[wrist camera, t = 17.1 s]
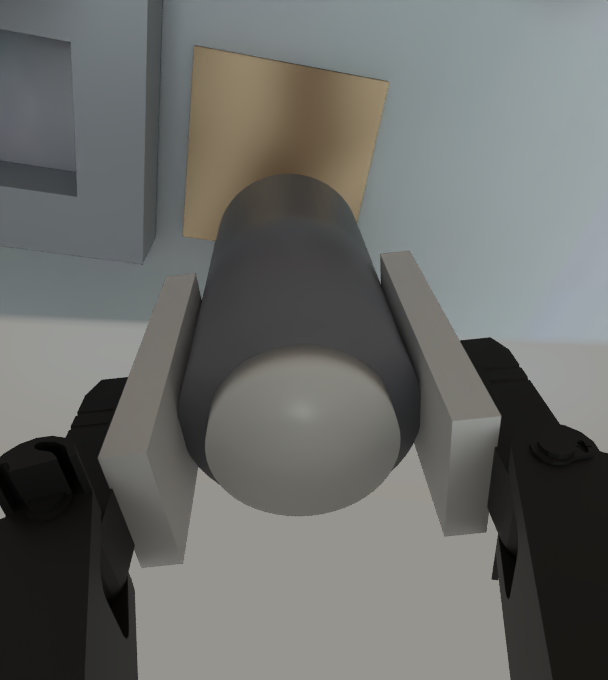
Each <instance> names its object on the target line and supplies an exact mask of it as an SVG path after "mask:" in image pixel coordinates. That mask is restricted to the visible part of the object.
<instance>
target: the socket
mask: <svg viewBox="0 0 608 680" xmlns="http://www.w3.org/2000/svg"><path fill="white" fill-rule="evenodd" d="M162 6H163V0H0V29H2V30H7V31H13V32H18V33H24V34H29V35H35V36H40V37H46V38H51V39H57V40H62V41H68V42H70V44H71V66H72V88H73V110H74V132H75V155H76V172H70V171H64V170H57V169H50V168H44V167H37V166H31V165H24V164H17V163H11V162H4V161H0V246H3V247H11V248H19V249H26V250H34V251H42V252H49V253H57V254H65V255H72V256H80V257H88V258H95V259H103V260H111V261H118V262H126V263H133V264H141V265H143V263H144V261H145V258H146V256H147V254H148V252H149V250H150V248H151V246H152V244H153V242H154V239H155V230H156V198H157V166H158V134H159V102H160V70H161V38H162Z"/></svg>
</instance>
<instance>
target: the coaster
mask: <svg viewBox="0 0 608 680" xmlns="http://www.w3.org/2000/svg"><path fill="white" fill-rule="evenodd" d="M388 86H389V82H388V81H384V80H379V79H373V78H368V77H363V76H357V75H352V74H346V73H341V72H336V71H330V70H325V69H320V68H314V67H309V66H304V65H298V64H293V63H287V62H282V61H277V60H271V59H266V58H261V57H255V56H250V55H245V54H239V53H234V52H228V51H223V50H218V49H212V48H207V47H202V46H196V45H195V46H194V56H193V73H192V90H191V107H190V124H189V141H188V158H187V174H186V191H185V208H184V225H183V237H190V238H198V239H205V240H212V241H216V238H217V233H218V229H219V225H220V222H221V219H222V216H223V214H224V212H225V210H226V208H227V207H228V205H229V204H230V202H231V201H232V200H233V199H234V197H235V196H236V195H237V194H238V193H239V192H241V191H242V190H243V189H244V188H245V187H247V186H249V185H250V184H252V183H253V182H256V181H258V180H260V179H262V178H265V177H268V176H272V175H278V174H299V175H304V176H309V177H312V178H315V179H317V180H320V181H321V182H323V183H325V184H327V185H329V186H330V187H331V188H333V189H334V190H335V191H336V192H337V193H339V194H340V195H341V196H342V197H343V199H344V200H345V201H346V203H347V204H348V205H349V207H350V209H351V211H352V212H353V215H354V217H355V220H356V222H357V221H358V216H359V212H360V207H361V203H362V199H363V194H364V190H365V186H366V181H367V177H368V173H369V168H370V164H371V160H372V155H373V151H374V147H375V142H376V138H377V134H378V129H379V125H380V121H381V116H382V112H383V108H384V103H385V99H386V95H387V90H388Z"/></svg>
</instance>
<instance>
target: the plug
mask: <svg viewBox="0 0 608 680" xmlns="http://www.w3.org/2000/svg"><path fill="white" fill-rule="evenodd" d="M420 409H421V390H420V385H419V382H418V380H417V377H416V374H415V372H414V369H413V367H412V364H411V361H410V359H409V356H408V354H407V351H406V349H405V346H404V343H403V341H402V338H401V336H400V333H399V331H398V328H397V325H396V323H395V320H394V318H393V315H392V313H391V310H390V307H389V305H388V302H387V300H386V297H385V294H384V292H383V289H382V287H381V284H380V282H379V279H378V276H377V274H376V271H375V269H374V266H373V264H372V261H371V258H370V256H369V253H368V251H367V248H366V246H365V243H364V240H363V238H362V235H361V233H360V230H359V227H358V225H357V222H356V220H355V217H354V215H353V212H352V211H351V209H350V207H349V205H348V204H347V203H346V201H345V200H344V199H343V197H342V196H341V195H340V194H339V193H337V192H336V191H335V190H334V189H333V188H331V187H330V186H329V185H327V184H325V183H323V182H321V181H320V180H317V179H315V178H312V177H309V176H304V175H299V174H278V175H272V176H268V177H265V178H262V179H260V180H258V181H256V182H253V183H252V184H250V185H249V186H247V187H245V188H244V189H243V190H242V191H241V192H239V193H238V194H237V195H236V196H235V197H234V199H233V200H232V201H231V202H230V204H229V205H228V207H227V208H226V210H225V212H224V214H223V216H222V219H221V222H220V225H219V229H218V233H217V238H216V242H215V246H214V251H213V255H212V259H211V264H210V268H209V272H208V277H207V281H206V285H205V290H204V294H203V298H202V303H201V307H200V311H199V316H198V320H197V324H196V328H195V333H194V337H193V341H192V346H191V350H190V354H189V359H188V363H187V367H186V372H185V376H184V380H183V385H182V389H181V393H180V399H179V405H178V419H179V423H180V426H181V430H182V433H183V437H184V441H185V444H186V448H187V451H188V452H189V454H190V456H191V457H192V459H193V460H194V461H195V463H196V464H197V465H198V467H199V468H201V469H202V471H203V472H205V473H206V474H207V475H208V476H209V477H210V478H211V479H213V480H214V481H216V482H217V483H218V484H220V485H221V486H222V487H223V488H224V489H225V490H226V491H227V492H228V493H229V494H230V495H232V496H233V497H234V498H236V499H237V500H239V501H241V502H242V503H244V504H246V505H248V506H251V507H253V508H255V509H258V510H261V511H264V512H268V513H273V514H277V515H286V516H312V515H318V514H324V513H328V512H333V511H336V510H339V509H342V508H345V507H347V506H349V505H352V504H354V503H356V502H358V501H359V500H361V499H363V498H364V497H366V496H367V495H369V494H370V493H371V492H373V491H374V490H375V489H376V488H377V487H378V486H379V485H381V484H382V482H383V481H384V480H385V479H386V478H387V476H388V475H389V473H390V472H391V471H392V470H393V469H394V468H395V467H396V466H397V465H398V464H399V463H400V462H401V461H402V459H403V458H404V457H405V456H406V454H407V453H408V451H409V450H410V448H411V447H412V445H413V443H414V441H415V439H416V436H417V434H418V431H419V428H420Z"/></svg>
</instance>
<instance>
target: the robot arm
mask: <svg viewBox="0 0 608 680" xmlns="http://www.w3.org/2000/svg"><path fill="white" fill-rule="evenodd" d="M380 262H381V287H382V289H383V292H384V294H385V297H386V300H387V302H388V305H389V307H390V310H391V313H392V315H393V318H394V320H395V323H396V325H397V328H398V331H399V333H400V336H401V338H402V341H403V343H404V346H405V349H406V351H407V354H408V356H409V359H410V361H411V364H412V367H413V369H414V372H415V374H416V377H417V380H418V382H419V385H420V390H421V409H420V428H419V431H418V434H417V436H416V439H415V441H414V444H415V447H416V450H417V453H418V456H419V459H420V462H421V465H422V469H423V472H424V475H425V478H426V481H427V484H428V487H429V490H430V493H431V496H432V499H433V502H434V506H435V509H436V512H437V515H438V518H439V521H440V524H441V527H442V530H443V533H444V536H454V535H464V534H473V533H484V532H486V530H487V523H488V515H489V513H490V515H491V517H492V520H493V522H494V524H495V527H496V529H497V531H498V539H497V545H496V553H495V560H494V566H493V573H492V579H493V580H498V578H499V585H500V593H501V602H502V610H503V619H504V626H505V635H506V644H507V652H508V661H509V669H510V677H511V680H608V453H603V452H601V451H599V449H598V448H597V446H596V445H595V443H594V442H593V441H592V440H591V439H589V438H588V437H587V436H585V435H584V434H583V433H581V432H579V431H577V430H574V429H572V428H570V427H567V426H565V425H560V424H559V422H558V421H557V419H556V418H555V417H554V415H553V413H552V412H551V411H550V409H549V408H548V406H547V405H546V403H545V402H544V400H543V399H542V397H541V396H540V394H539V393H538V391H537V390H536V389H535V387H534V386H533V384H532V383H531V381H530V380H528V377H527V375H526V374H525V372H524V371H523V370H522V368H520V367H519V364H518V362H517V361H516V359H515V358H514V356H513V355H512V354H511V352H510V350H509V349H507V348H506V347H504V346H503V345H501V344H500V343H498V342H497V341H495V340H494V339H492V338H480V339H471V340H461V341H459V339H458V337H457V335H456V333H455V332H454V330H453V328H452V326H451V324H450V323H449V321H448V319H447V317H446V315H445V314H444V312H443V310H442V308H441V306H440V304H439V303H438V301H437V299H436V297H435V295H434V294H433V292H432V290H431V288H430V286H429V285H428V283H427V281H426V279H425V277H424V276H423V274H422V272H421V270H420V268H419V267H418V265H417V263H416V261H415V259H414V258H413V256H412V254H411V252H410V251H403V252H394V253H384V254H380ZM201 303H202V300H201V296H200V291H199V287H198V282H197V277H196V274H186V275H177V276H167V277H166V279H165V282H164V284H163V287H162V289H161V292H160V295H159V297H158V300H157V303H156V305H155V308H154V311H153V313H152V316H151V319H150V321H149V324H148V326H147V329H146V332H145V335H144V337H143V340H142V342H141V345H140V348H139V350H138V353H137V356H136V358H135V361H134V364H133V366H132V369H131V372H130V374H129V377H125V378H116V379H105V380H101V381H100V382H99V383H98V384H97V385H96V386H95V387H94V388H93V389H92V390H91V391H90V392H89V393H88V394H87V395H85V397H84V399H83V402H82V404H81V406H80V408H79V410H78V412H77V413H78V416H76V417H75V419H74V421H73V423H72V425H71V430H69V431H68V434H67V436H66V438H63V437H56V436H48V437H41V438H35V439H33V440H30V441H27V442H24V443H21V444H19V445H18V446H16V447H14V448H12V449H11V450H9V451H8V452H6V453H4V454H3V455H2V456H1V457H0V506H1V508H2V510H3V511H4V513H5V515H6V517H5V518H2V519H0V680H138V673H137V644H136V643H137V642H136V615H135V590H134V587H133V583H132V579H131V577H130V575H129V572H128V570H129V567H130V562H131V558H132V555H133V551H134V550H135V553H136V555H137V558H138V560H139V563H140V566H141V567H142V568H144V567H145V568H146V567H155V566H165V565H174V564H183V560H184V553H185V548H186V541H187V535H188V528H189V521H190V515H191V509H192V503H193V496H194V489H195V483H196V477H197V470H198V465H197V464H196V463H195V461H194V460H193V459H192V457H191V456H190V454H189V452H188V451H187V448H186V444H185V441H184V437H183V433H182V430H181V426H180V423H179V419H178V405H179V399H180V393H181V389H182V385H183V380H184V376H185V372H186V367H187V363H188V359H189V354H190V350H191V346H192V341H193V337H194V333H195V328H196V324H197V320H198V316H199V311H200V307H201Z"/></svg>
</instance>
